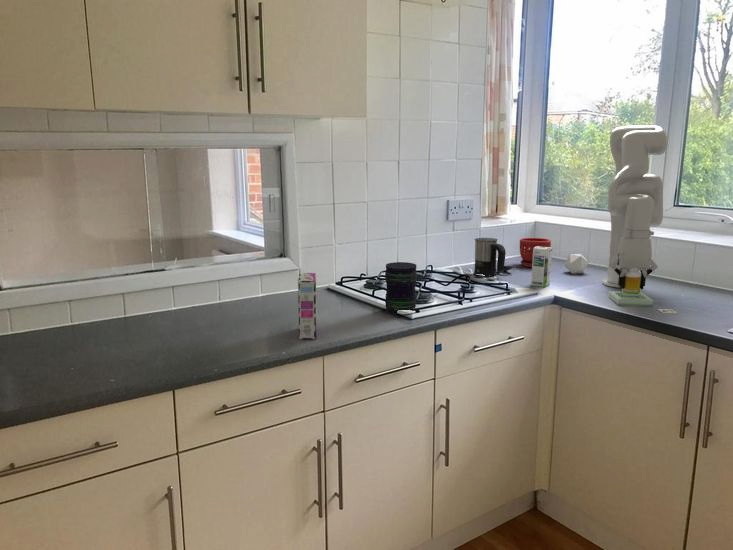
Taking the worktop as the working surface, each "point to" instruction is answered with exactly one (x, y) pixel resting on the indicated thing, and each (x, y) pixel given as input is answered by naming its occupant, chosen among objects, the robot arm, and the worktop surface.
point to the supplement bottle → (632, 282)
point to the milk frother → (489, 257)
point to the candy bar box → (307, 306)
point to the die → (576, 263)
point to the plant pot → (531, 248)
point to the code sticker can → (666, 311)
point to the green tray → (630, 299)
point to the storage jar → (400, 286)
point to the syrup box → (541, 266)
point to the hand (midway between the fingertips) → (631, 287)
